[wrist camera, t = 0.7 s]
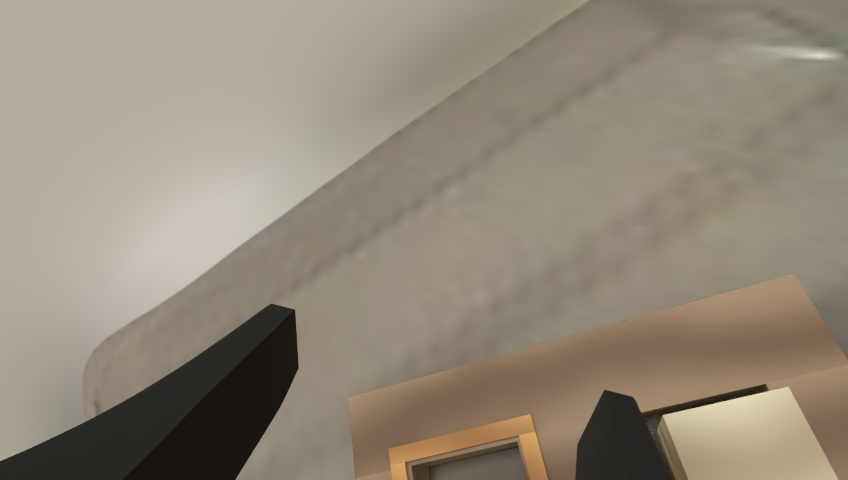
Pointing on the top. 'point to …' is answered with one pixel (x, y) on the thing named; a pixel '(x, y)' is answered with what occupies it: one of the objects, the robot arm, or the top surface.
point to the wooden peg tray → (610, 385)
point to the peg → (743, 441)
